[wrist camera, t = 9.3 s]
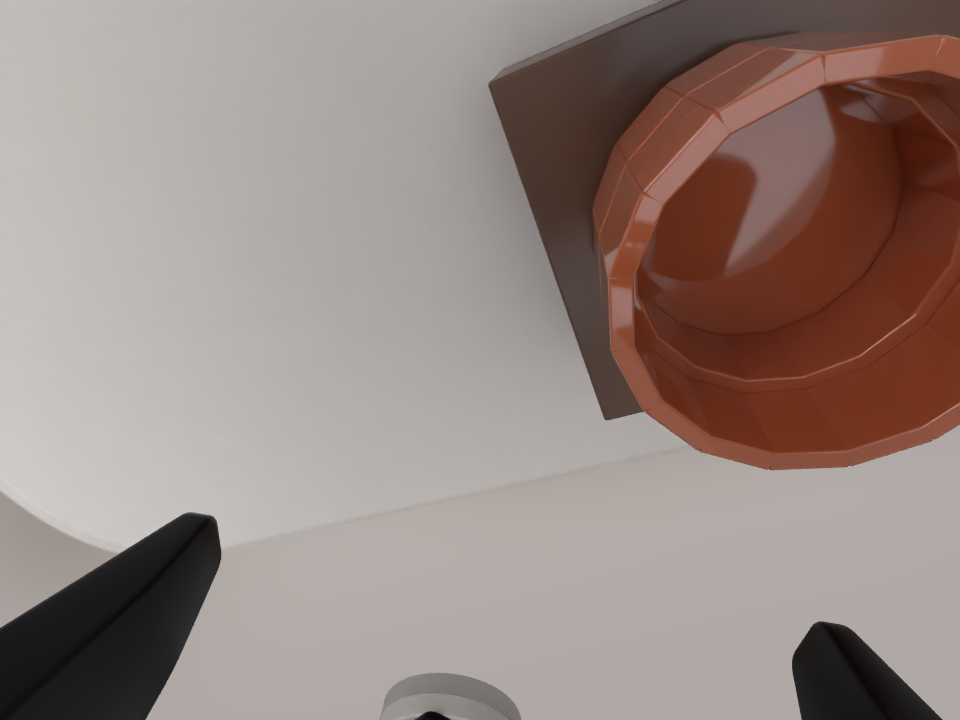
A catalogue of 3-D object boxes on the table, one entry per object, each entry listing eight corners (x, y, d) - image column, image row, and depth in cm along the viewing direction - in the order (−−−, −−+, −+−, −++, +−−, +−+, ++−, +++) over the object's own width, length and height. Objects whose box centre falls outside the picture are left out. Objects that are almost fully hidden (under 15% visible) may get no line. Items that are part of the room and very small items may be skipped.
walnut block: (878, -94, 13) (998, -137, 9) (896, 267, 17) (986, 329, 13) (501, 69, 15) (486, 82, 12) (595, 350, 19) (604, 422, 16)
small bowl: (998, 185, 12) (1218, 264, 8) (734, 395, 15) (798, 525, 11) (771, -54, 10) (907, -102, 6) (530, 236, 13) (522, 324, 9)
